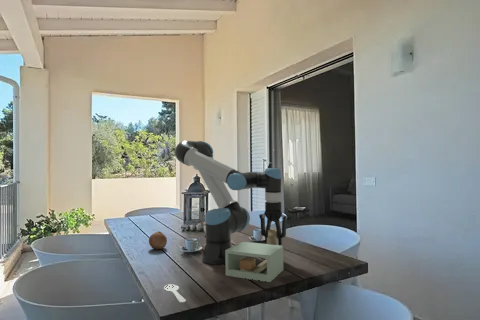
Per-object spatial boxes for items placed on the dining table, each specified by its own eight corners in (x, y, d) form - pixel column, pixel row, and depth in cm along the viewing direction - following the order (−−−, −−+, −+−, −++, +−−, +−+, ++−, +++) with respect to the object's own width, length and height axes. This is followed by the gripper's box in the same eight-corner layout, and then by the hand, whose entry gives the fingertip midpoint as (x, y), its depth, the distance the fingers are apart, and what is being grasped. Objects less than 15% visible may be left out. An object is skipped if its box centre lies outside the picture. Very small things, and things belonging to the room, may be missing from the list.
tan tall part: (240, 274, 138) (240, 240, 138) (265, 257, 163) (265, 228, 163) (256, 277, 135) (256, 242, 135) (279, 259, 160) (278, 229, 160)
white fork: (175, 304, 111) (175, 303, 111) (161, 286, 127) (161, 285, 127) (191, 301, 113) (191, 299, 113) (175, 284, 129) (175, 282, 129)
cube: (240, 272, 142) (239, 260, 142) (244, 268, 146) (244, 257, 146) (251, 274, 139) (250, 261, 139) (255, 270, 144) (255, 258, 144)
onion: (158, 252, 184) (160, 234, 189) (169, 250, 179) (171, 231, 183) (143, 249, 177) (146, 230, 182) (155, 247, 172) (157, 228, 177)
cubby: (225, 275, 138) (225, 250, 138) (242, 264, 152) (242, 241, 152) (270, 282, 129) (269, 255, 129) (283, 269, 144) (283, 245, 144)
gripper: (293, 201, 158) (293, 251, 158) (259, 199, 166) (259, 247, 166) (288, 203, 151) (288, 255, 151) (253, 201, 159) (253, 251, 159)
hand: (273, 251), depth 159 cm, fingers closed on tan tall part, 4 cm apart
